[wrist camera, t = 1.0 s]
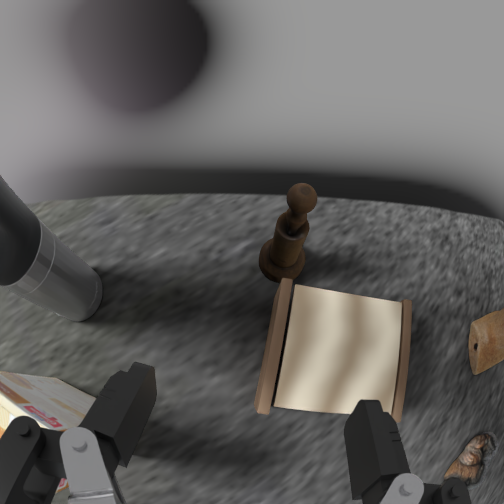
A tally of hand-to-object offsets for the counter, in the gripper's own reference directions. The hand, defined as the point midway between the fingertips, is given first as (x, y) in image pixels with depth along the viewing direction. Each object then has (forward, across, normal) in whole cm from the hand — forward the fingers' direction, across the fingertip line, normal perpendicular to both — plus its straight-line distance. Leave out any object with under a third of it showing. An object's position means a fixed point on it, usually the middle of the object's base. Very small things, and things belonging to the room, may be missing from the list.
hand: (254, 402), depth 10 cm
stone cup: (+28, -44, +13) cm, 54 cm away
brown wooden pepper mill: (+33, -2, +7) cm, 34 cm away
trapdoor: (+22, -11, +15) cm, 29 cm away
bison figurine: (+11, -40, +30) cm, 51 cm away
